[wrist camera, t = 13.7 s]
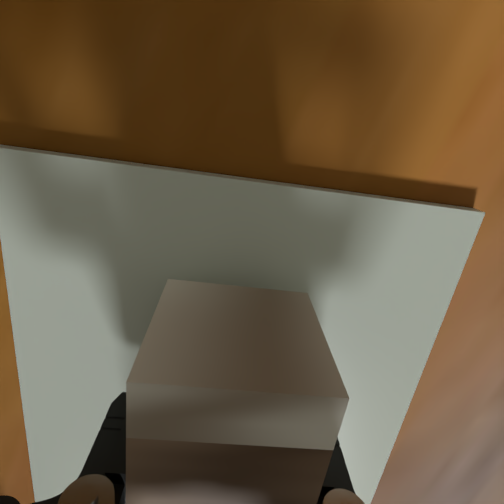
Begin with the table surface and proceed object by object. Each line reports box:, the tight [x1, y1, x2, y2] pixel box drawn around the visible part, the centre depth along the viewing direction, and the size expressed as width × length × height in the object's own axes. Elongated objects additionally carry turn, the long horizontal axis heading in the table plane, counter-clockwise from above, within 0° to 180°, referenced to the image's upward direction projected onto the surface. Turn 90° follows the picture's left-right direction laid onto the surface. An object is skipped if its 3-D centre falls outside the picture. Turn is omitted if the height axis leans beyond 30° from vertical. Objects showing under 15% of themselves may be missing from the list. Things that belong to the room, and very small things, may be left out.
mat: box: [0, 145, 485, 504], centre depth 15 cm, size 16×18×1 cm
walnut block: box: [126, 279, 350, 504], centre depth 11 cm, size 4×4×11 cm
